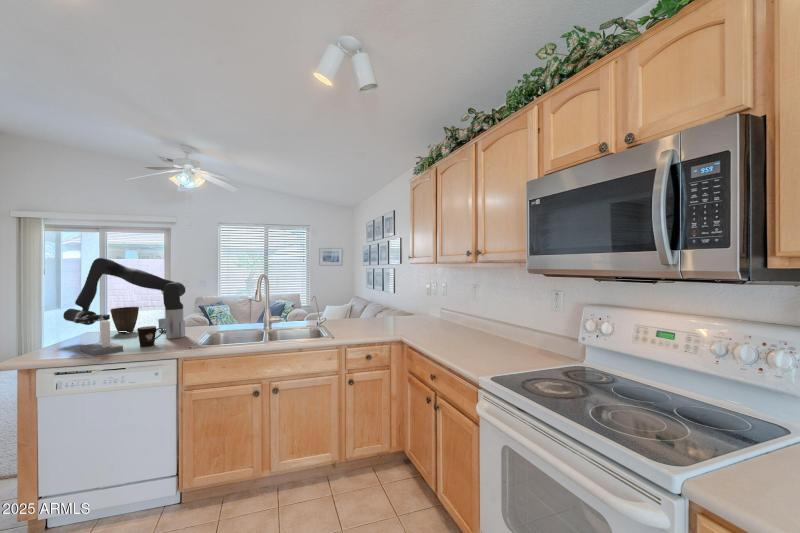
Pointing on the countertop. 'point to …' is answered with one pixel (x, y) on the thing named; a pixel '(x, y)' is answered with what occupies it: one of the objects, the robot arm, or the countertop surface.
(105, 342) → the switch handle
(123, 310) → the plant pot
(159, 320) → the medicine box
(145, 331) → the coffee mug
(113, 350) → the grey base plate
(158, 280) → the robot arm
